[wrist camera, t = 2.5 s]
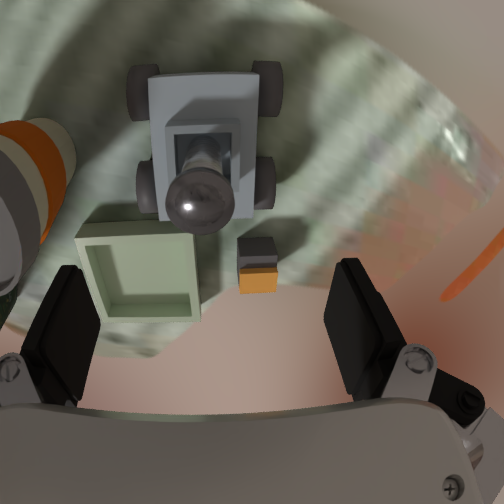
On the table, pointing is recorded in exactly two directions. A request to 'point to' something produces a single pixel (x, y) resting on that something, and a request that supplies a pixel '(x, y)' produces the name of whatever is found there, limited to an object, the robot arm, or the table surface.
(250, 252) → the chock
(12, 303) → the coffee jar
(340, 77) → the table surface
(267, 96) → the toy car
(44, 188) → the reusable coffee cup
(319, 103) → the table surface
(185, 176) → the pin
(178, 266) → the tray
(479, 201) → the table surface
